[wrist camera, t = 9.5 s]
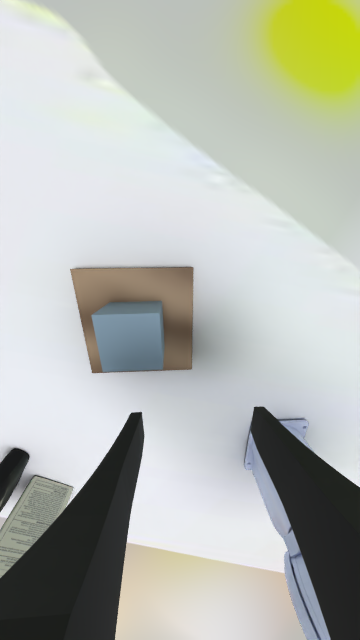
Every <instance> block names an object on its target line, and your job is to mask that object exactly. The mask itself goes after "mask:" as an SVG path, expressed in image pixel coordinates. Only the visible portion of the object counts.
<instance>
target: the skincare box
mask: <svg viewBox="0 0 360 640" xmlns="http://www.w3.org/2000/svg"><path fill="white" fill-rule="evenodd" d="M72 490H73V487H70V486H67V485H64V484H61V483H57V482H54V481H51V480H48V479H45V478H40V477H37V476H34V477H33V479H32V480H31V481H30V483H29V484H28V486H27V487H26V489H25V491H24V492H23V494H22V495H21V497H20V499H19V500H18V502H17V503H16V505H15V507H14V508H13V510H12V511H11V513H10V515H9V516H8V518H7V520H6V521H5V523H4V524H3V526H2V528H1V530H0V578H1V577H2V576H3V575H4V574H5V573H6V572H7V571H8V570H9V569H10V568H11V567H12V565H13V564H14V563H15V562H16V561H17V560H18V559H19V558H20V557H21V556H22V555H23V554H24V553H25V552H26V551H27V550H28V549H29V548H30V547H31V546H32V545H33V544H34V543H35V542H36V541H37V540H38V539H39V537H40V536H41V535H42V534H43V533H44V532H45V531H46V530H47V529H48V527H49V526H50V525H51V524H52V523H53V522H54V521H55V520H56V519H57V517H58V516H59V515H60V514H61V513H62V512H63V511H64V509H65V508H66V505H67V503H68V500H69V498H70V495H71V493H72Z"/></svg>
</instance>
